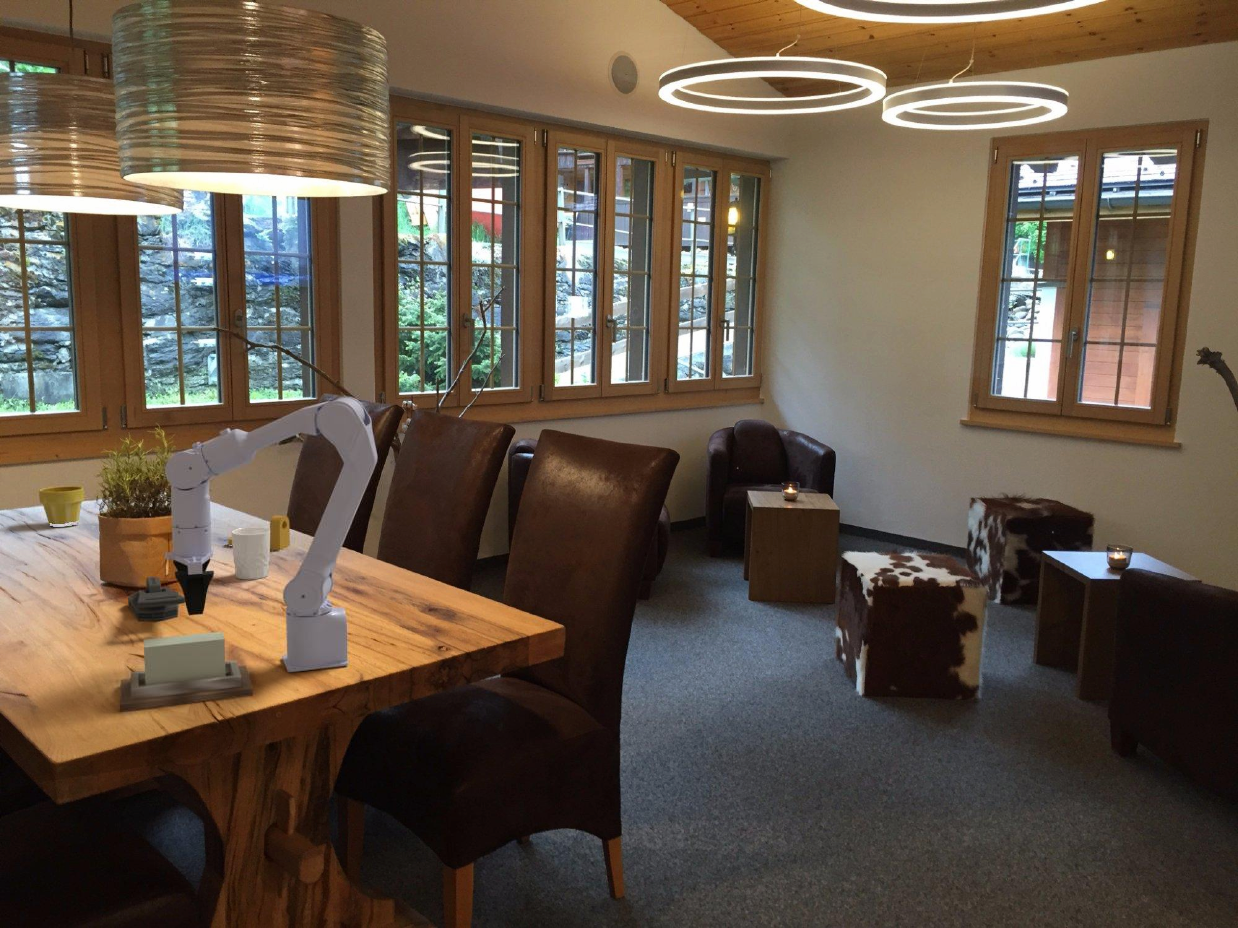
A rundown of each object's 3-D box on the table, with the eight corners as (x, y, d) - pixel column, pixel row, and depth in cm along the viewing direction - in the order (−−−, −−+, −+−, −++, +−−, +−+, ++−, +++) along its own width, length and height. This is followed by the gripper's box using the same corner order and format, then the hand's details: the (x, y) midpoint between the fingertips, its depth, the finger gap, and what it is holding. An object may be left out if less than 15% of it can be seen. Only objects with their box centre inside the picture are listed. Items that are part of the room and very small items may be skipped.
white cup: (279, 574, 224) (278, 529, 223) (251, 582, 217) (249, 536, 216) (253, 569, 228) (251, 525, 226) (224, 577, 221) (223, 531, 219)
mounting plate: (246, 671, 163) (245, 656, 163) (253, 694, 154) (252, 678, 153) (120, 686, 156) (120, 670, 155) (119, 711, 146) (119, 694, 146)
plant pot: (34, 525, 268) (32, 488, 267) (75, 519, 276) (73, 484, 275) (50, 531, 262) (48, 493, 260) (92, 525, 270) (90, 488, 268)
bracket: (289, 547, 250) (289, 514, 249) (280, 551, 246) (279, 517, 245) (235, 543, 254) (234, 510, 253) (224, 547, 249) (223, 513, 248)
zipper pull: (133, 603, 177) (126, 570, 199) (135, 640, 178) (127, 603, 200) (189, 597, 181) (176, 566, 203) (190, 634, 182) (177, 598, 204)
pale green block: (223, 675, 159) (222, 631, 158) (225, 683, 155) (224, 639, 154) (145, 684, 154) (143, 639, 153) (145, 693, 150) (143, 647, 149)
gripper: (163, 518, 168) (166, 598, 170) (165, 535, 155) (168, 622, 157) (209, 515, 171) (211, 594, 173) (215, 532, 158) (218, 618, 160)
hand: (194, 607), depth 165 cm, fingers open, 7 cm apart
